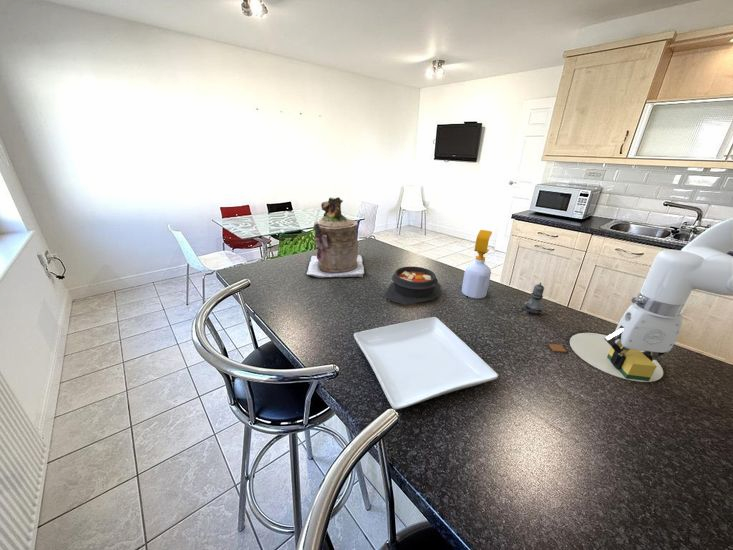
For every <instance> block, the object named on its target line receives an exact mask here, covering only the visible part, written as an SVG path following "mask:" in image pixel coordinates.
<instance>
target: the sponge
mask: <svg viewBox="0 0 733 550" xmlns="http://www.w3.org/2000/svg"><path fill="white" fill-rule="evenodd" d="M623 347H624V346H622V347H621V349H622V348H623ZM614 351H615V350H614V349H613V348H612V347H611V349H610V351H609V354H608V356H607V358H608V359H609V360H610V361H611V357H612V355H613V353H614ZM624 356H625V357H626V359H625V361H624V363H623V365H622V367H621V369H620V370H619V369H618V370H619V371H620V372H621V374H622V375H623V376H624V377H625V378H626V379H625V380H628V379H634V380H643V381H649V380H650V378H651V376H652V374H653V373H654V371H655V369H656V367H657V366H656V365H655V364H654V363H653V362H652V361H651V360H650V359H648V358H647V357H646V356H645V355H644V354H643V353H642V352H641V351H640V350H632V349H630V350H629V351H628V352H627V353H626V354H625V355H624Z"/></svg>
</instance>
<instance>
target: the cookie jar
mask: <svg viewBox="0 0 733 550" xmlns="http://www.w3.org/2000/svg"><path fill="white" fill-rule="evenodd" d="M343 202H344V200H343V199H341V198H340V197H338V196H337V197H328V200H327V201H323V202H321V204H320V207H321V210H322V211H324V213H323V216H322V217H321V218H320V219H319V220H317V221H316V222H314V223H313V231H314V236H315V239H313V243H314V244H315V245H316V246H317V250H316V251H317V252H316V255H311V256H310V261H309V262H308V263H309V264H308V268H307V272H306V276H311V277H314V278H315V277H316V278H319V279H321V278H364V274H365V270H364V269H365V267H364V264H363V257H362V255H360V254H359V242H358V235H357V234H358V233H357V228H358V226H359V223H358V221H356V220H353V219H349V218H347V217H346V216H345V215H343V214H342V207H341V205H342V203H343Z"/></svg>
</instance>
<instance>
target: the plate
mask: <svg viewBox="0 0 733 550" xmlns="http://www.w3.org/2000/svg"><path fill="white" fill-rule="evenodd" d="M607 336H608V335H606V334H601V333H596V332H579V333H575V334H574V335H572V336H571V337H570V339H569V345H570V348H571V349H572V351H573V352H574V353H575V354H576V355H577V356H578V357H579V358H580V359H581V360H583V361H585V362H586V363H588V364H589V365H591V366H593V368H596V369H598V370H600V371H602V372H604V373H607V374H608V375H612V376H614V377H618V378H620V379H623V380H629V381H633V382H634V381H635V382H641V383H649V382H650V383H651V382H656V381H658V380H661V378H662V377H664V370H663V367H662V366H661V364H660V363H659V362H658V360H657V359H656V360H653V361H652V362H653V363H654V364H655V365H656V366H657V367H656V369H655V371H654V373H653V374H652V376H651V378H650V380H649V381H643V380H634V379H626V378H625V377H624V376H623V375H622V374H621V372H620V371H619V370H618V369H616V368H615V367H614V365H613V364H612V363H611V362H610V360H609V359H608V358H607V356H608V354H609V351H610V349H611V345H610V344H608V343H607V342H606V340H605V339H604V338H605V337H607ZM618 341H619V339H618V340H616V341H615V343H617V342H618ZM640 351H641V350H640ZM641 352H644V351H641Z"/></svg>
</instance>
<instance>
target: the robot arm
mask: <svg viewBox="0 0 733 550" xmlns="http://www.w3.org/2000/svg"><path fill="white" fill-rule="evenodd" d="M731 251H733V217H731V218H728V219H725V220H723V221H721V222H719V223H716V224H713V225H712V226H710V227H709V228H707V229H706V230H704V231H702V232H701V233H700V234H699V235H697V236H696V237H694V238H693V239H692V240H691V241H690V242H688V243H687V244H686V245H685V246H683V247H682V248H681V250H680V249H663V250H660V251H659V252H657V253H656V255H655V257H654V259H653V261H652V264H651V266H650V268H649V271H648V273H647V275H646V277H645V279H644V281H643V284H642V286H641V288H640V290H639V293H638V295H637V296H636V297H632V298H631V300H630V301H631V304H630V306H629V307H628V308H627V309H626V310H625V312H624V314H623V315H622V317H621V319H620V320H619V321H618V323H617V326H616V328H615V331H613V332H611V333H610V334H608V335H607V337H605V338H604V339H605V340H606V342H607V343H608V344H610V345H611V347H612V348H613V349H614V350H615V351H614V353H613V355H612V357H611V361H610V362H611V363H612V364H613V365H614V367H615V368H616V369H619V370H620V369H621V367H622V365H623V363H624V361H625V359H626V357H625V356H624V355H625V354H626V353H627V352H628V351H629V350H630V349H632V350H641V351H644V352H642V353H643V354H644V355H645V356H646V357H647V358H648V359H650V360H651V361H653V360H656V361H657V360H659V359H658V358H659V357H661V356H663V355H665V354H666V353H670V352H671V351H675V350H676V348H677V347H676V345H675V343H676V341H677V338H678V337H679V333H680V330H681V327H682V323H683V316H684V315H683V314H682V310H683V308H684V306H685V304H686V303H687V301H688V299H689V297H690V295H691V293H692V291H693V290H697V291H701V292H702V291H703V292H707V293H711V294H716V295H721V296H728V297H730V296H731V297H733V255H730V254H729V252H731ZM618 339H619V341H618V342H617V343H615V341H616V340H618ZM622 346H624V347H623V348H622V349H621V347H622Z"/></svg>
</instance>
